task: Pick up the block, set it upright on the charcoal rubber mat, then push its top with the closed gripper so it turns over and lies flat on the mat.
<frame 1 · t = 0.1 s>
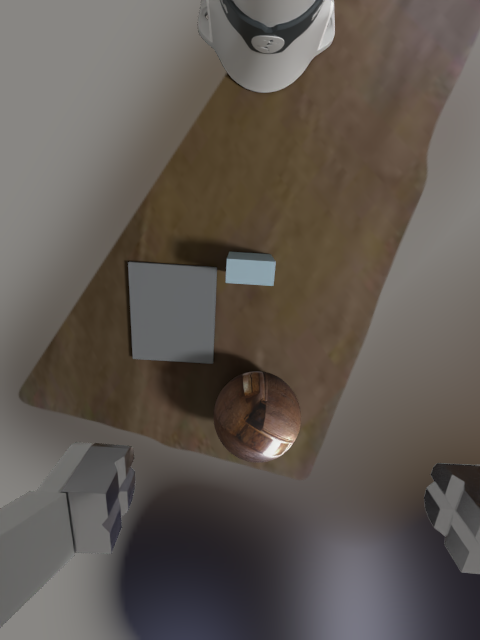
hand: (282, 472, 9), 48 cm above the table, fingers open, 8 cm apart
block: (249, 263, 55), on the table
wooden sphere: (255, 391, 63), on the table
mat: (173, 314, 57), on the table
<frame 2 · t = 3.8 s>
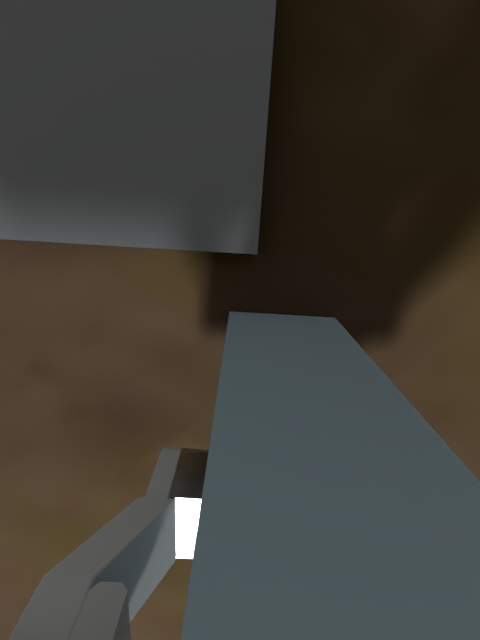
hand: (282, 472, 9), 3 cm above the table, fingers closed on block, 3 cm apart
block: (272, 405, 12), on the table, touching gripper
when the fingers open (5 cm above the table, at t = 8.0 s): block stays where it is, resting on mat.
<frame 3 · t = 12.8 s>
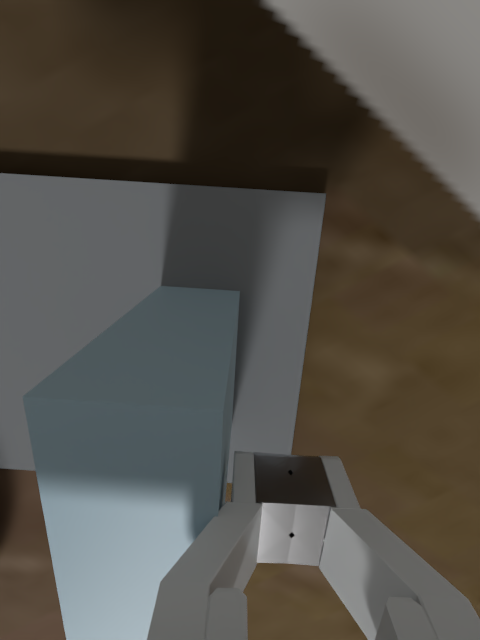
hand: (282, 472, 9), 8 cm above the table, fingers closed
block: (198, 360, 15), point 1 cm above the table, touching gripper, mat
mat: (120, 344, 16), on the table
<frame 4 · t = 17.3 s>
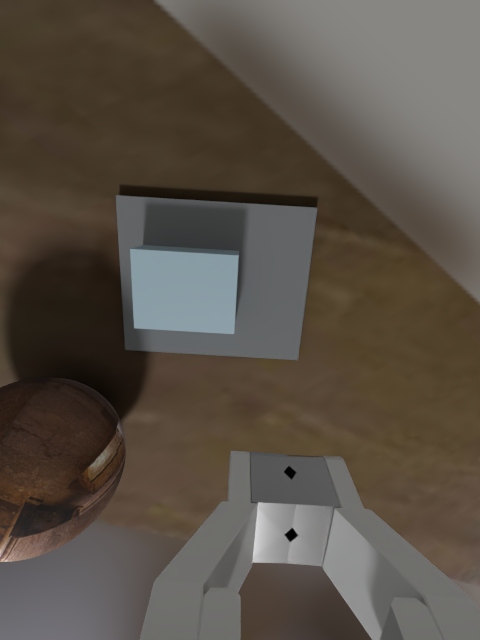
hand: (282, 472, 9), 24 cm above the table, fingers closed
block: (236, 291, 29), point 3 cm above the table, tilted 90°, touching mat
wooden sphere: (80, 410, 37), on the table
mat: (214, 282, 32), on the table
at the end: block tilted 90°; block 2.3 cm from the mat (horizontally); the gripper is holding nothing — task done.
